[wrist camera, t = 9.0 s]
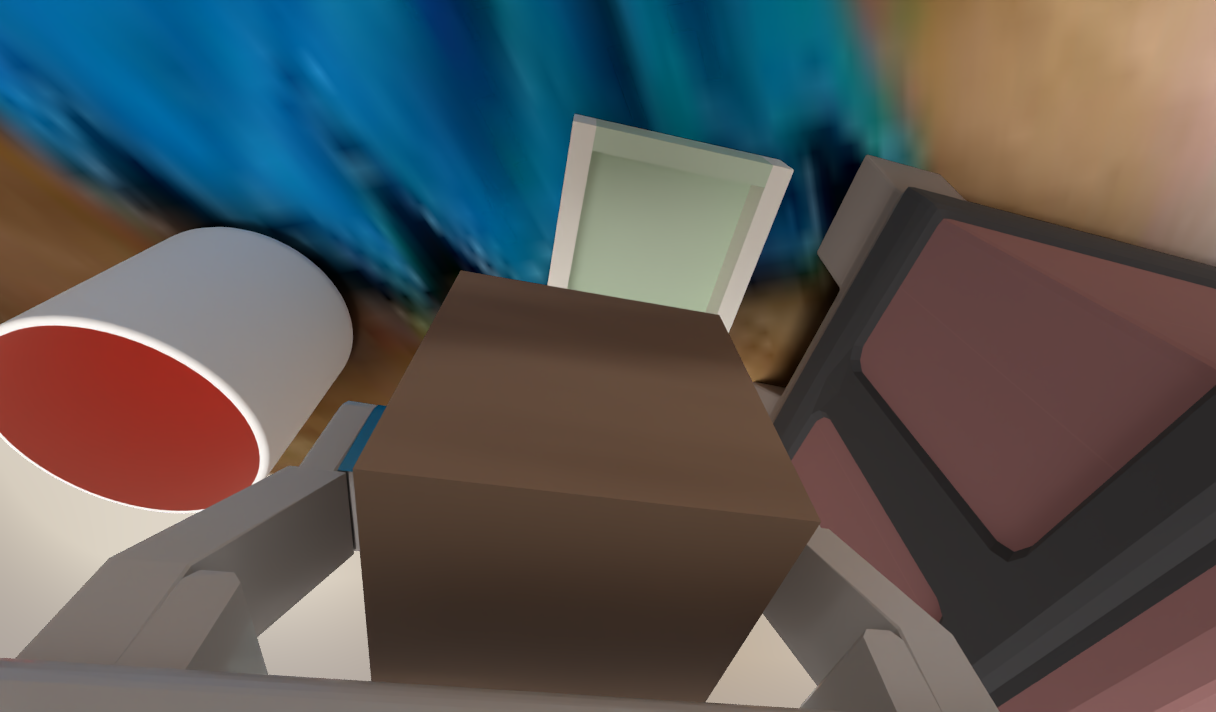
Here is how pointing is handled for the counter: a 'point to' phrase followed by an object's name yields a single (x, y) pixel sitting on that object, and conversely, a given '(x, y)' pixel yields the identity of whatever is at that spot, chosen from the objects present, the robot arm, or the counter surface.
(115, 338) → the cup
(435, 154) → the counter surface
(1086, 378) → the toaster
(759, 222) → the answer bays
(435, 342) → the walnut block
